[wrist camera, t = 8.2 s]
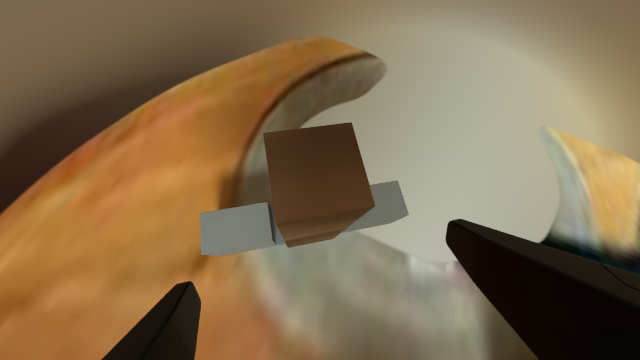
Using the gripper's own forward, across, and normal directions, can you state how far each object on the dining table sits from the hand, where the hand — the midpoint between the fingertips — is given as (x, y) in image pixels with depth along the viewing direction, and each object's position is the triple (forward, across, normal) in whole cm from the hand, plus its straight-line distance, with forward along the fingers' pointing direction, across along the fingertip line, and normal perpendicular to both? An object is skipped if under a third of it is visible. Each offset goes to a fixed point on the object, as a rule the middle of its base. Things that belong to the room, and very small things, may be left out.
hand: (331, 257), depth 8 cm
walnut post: (+12, 0, +6) cm, 13 cm away
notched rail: (+12, 0, +7) cm, 14 cm away
